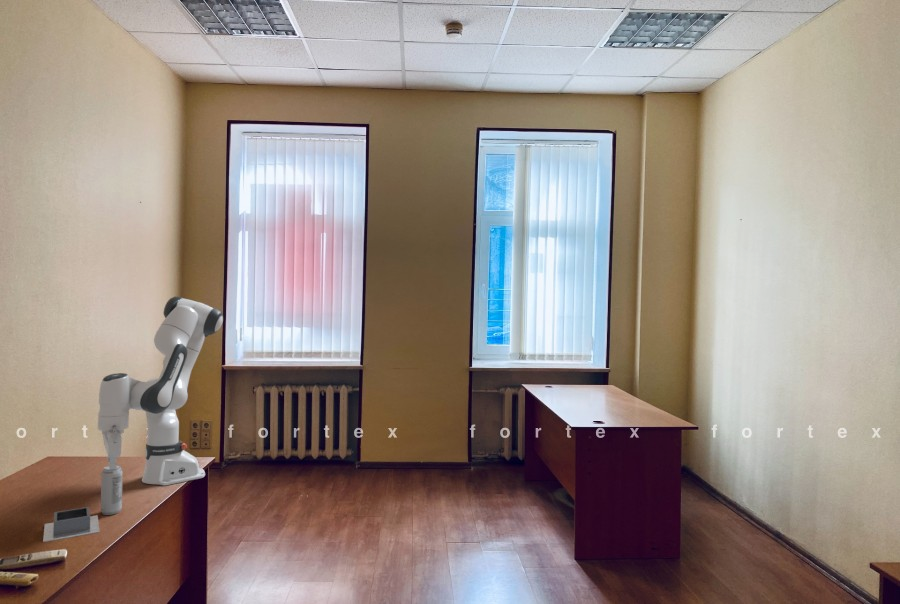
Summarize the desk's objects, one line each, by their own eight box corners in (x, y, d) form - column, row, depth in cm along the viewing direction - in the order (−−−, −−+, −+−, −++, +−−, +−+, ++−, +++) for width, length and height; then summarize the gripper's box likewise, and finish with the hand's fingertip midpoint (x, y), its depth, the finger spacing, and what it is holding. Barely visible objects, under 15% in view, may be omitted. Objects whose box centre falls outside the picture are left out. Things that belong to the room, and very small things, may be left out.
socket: (97, 518, 185) (97, 502, 185) (99, 533, 173) (99, 517, 173) (44, 527, 177) (44, 511, 177) (43, 544, 165) (43, 526, 165)
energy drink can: (110, 508, 192) (111, 463, 192) (126, 509, 191) (126, 465, 191) (96, 514, 186) (97, 469, 186) (111, 516, 185) (112, 470, 185)
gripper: (127, 428, 182) (125, 471, 181) (121, 416, 198) (119, 456, 198) (104, 430, 178) (102, 474, 178) (100, 418, 195) (98, 458, 195)
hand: (111, 464), depth 188 cm, fingers open, 8 cm apart
